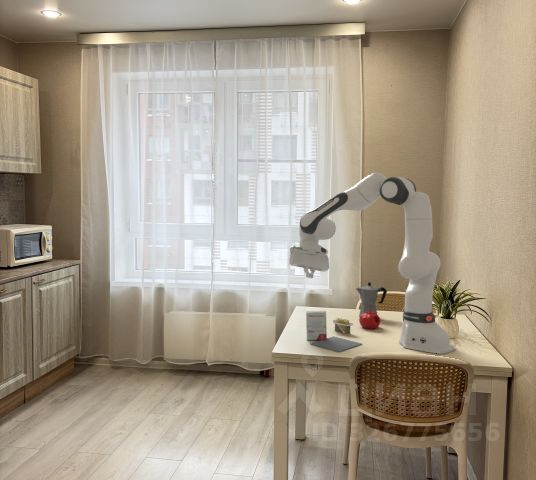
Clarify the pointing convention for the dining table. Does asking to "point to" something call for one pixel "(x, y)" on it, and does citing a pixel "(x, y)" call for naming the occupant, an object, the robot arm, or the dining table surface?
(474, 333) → the dining table surface
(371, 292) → the coffeepot
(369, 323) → the pomegranate
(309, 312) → the ink box
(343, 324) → the rectangular planter
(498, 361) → the dining table surface
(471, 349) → the dining table surface
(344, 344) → the mat
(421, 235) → the robot arm
